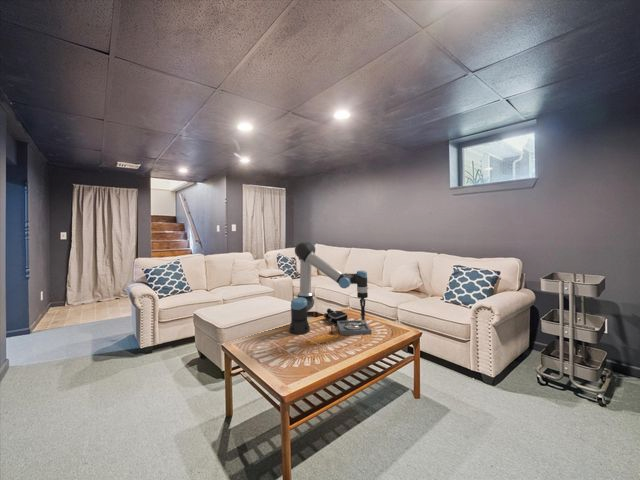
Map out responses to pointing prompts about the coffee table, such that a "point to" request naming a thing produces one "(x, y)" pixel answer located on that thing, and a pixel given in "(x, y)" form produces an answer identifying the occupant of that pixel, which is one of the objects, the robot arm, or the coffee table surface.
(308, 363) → the coffee table surface
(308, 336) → the coffee table surface
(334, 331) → the screwdriver
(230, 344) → the coffee table surface
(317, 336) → the coffee table surface
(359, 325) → the dial
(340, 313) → the film camera
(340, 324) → the panel
